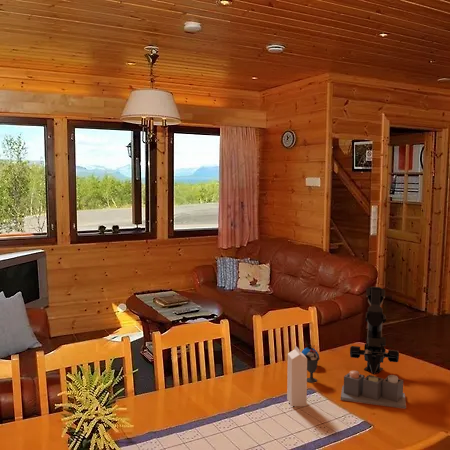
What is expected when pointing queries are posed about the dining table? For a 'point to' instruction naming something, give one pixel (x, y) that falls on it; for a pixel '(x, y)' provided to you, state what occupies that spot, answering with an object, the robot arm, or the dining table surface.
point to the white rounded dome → (393, 379)
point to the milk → (297, 378)
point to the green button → (373, 379)
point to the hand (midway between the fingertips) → (373, 374)
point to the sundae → (312, 364)
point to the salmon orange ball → (354, 374)
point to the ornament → (309, 350)
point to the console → (373, 391)
